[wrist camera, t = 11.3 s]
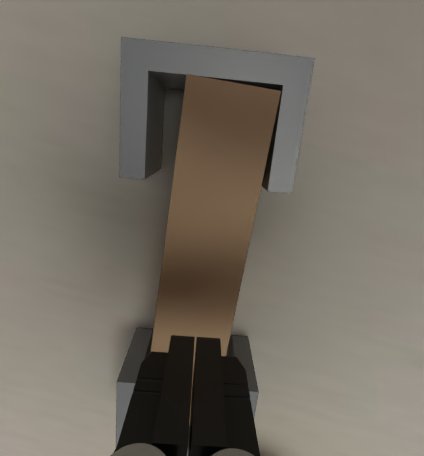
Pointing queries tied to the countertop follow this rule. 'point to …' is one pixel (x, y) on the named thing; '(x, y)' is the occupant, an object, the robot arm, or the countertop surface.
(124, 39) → the endcap
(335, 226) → the countertop surface
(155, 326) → the brown wooden bar
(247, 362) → the endcap
